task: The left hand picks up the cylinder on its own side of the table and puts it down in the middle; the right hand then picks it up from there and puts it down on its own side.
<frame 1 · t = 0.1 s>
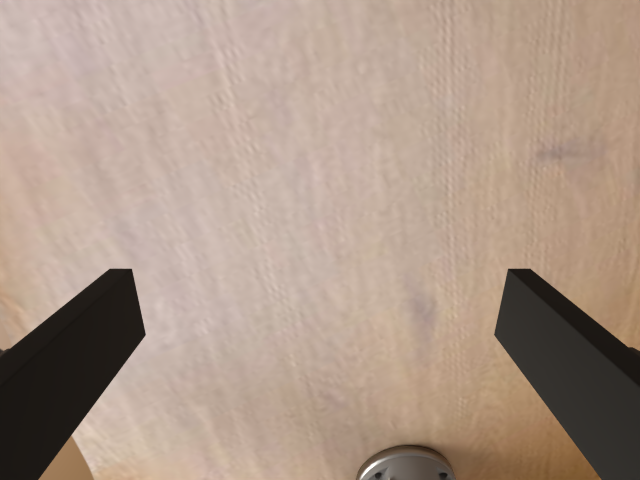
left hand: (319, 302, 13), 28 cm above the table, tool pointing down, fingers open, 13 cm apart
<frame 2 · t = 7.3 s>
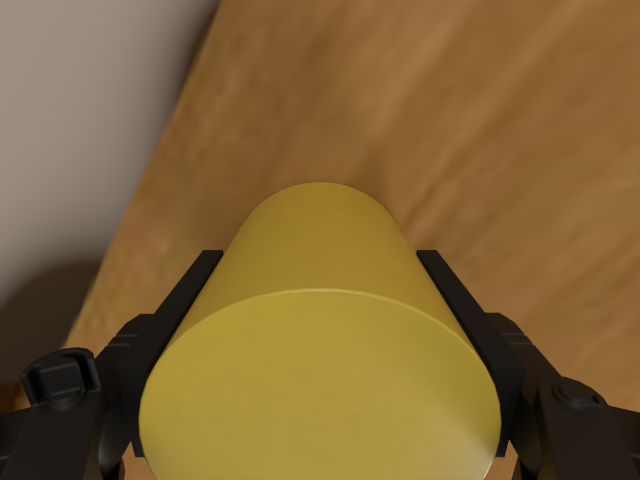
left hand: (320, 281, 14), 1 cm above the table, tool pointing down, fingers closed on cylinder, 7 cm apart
cylinder: (319, 267, 15), on the table, touching left hand
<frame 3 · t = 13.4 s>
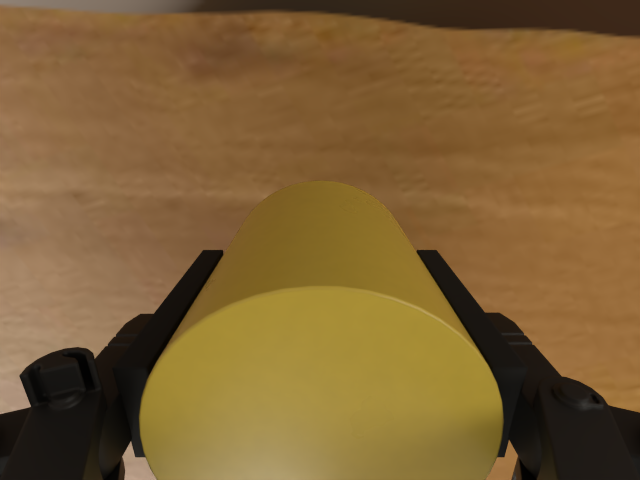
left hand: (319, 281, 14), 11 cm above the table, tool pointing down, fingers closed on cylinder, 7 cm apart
cylinder: (320, 266, 15), point 10 cm above the table, touching left hand
when the left hand's fingers open (3 cm above the table, at t = 19.7 s): cylinder drops 2 cm, on the table.
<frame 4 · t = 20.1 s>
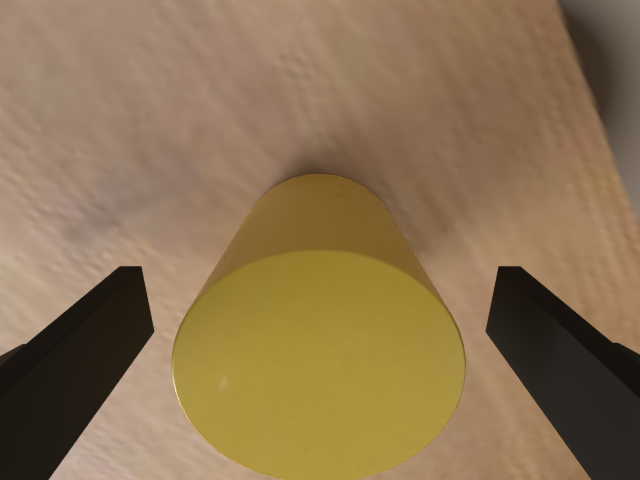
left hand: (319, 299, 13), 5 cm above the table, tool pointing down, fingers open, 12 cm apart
cylinder: (319, 250, 17), on the table
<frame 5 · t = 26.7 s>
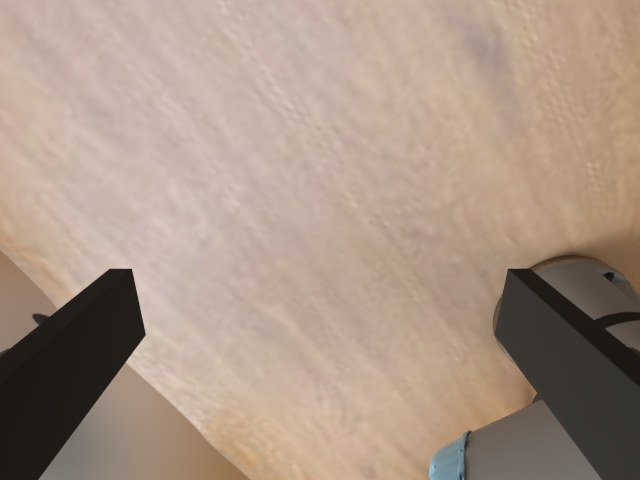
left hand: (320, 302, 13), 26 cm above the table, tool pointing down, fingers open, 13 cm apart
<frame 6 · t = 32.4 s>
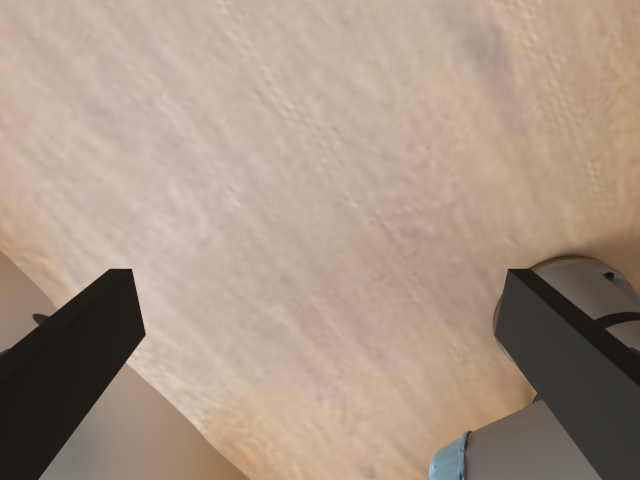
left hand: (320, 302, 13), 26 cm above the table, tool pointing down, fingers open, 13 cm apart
when the right hand's fingers open (3 cm above the table, at t = 37.9 s): cylinder drops 2 cm, on the table.
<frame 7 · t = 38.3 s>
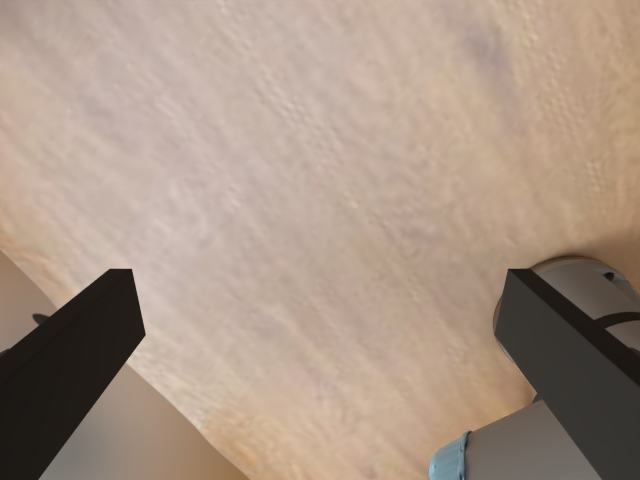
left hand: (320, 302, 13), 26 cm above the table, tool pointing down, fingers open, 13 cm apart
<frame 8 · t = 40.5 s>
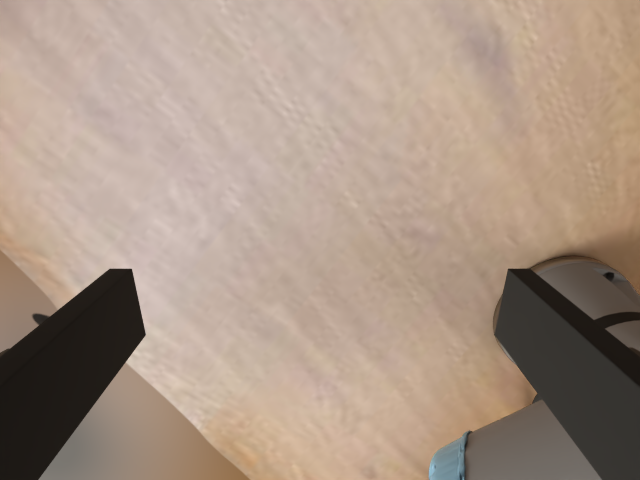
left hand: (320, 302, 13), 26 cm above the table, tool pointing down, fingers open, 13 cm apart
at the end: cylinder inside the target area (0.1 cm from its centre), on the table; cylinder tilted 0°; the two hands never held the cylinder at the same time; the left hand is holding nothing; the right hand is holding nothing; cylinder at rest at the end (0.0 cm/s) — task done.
